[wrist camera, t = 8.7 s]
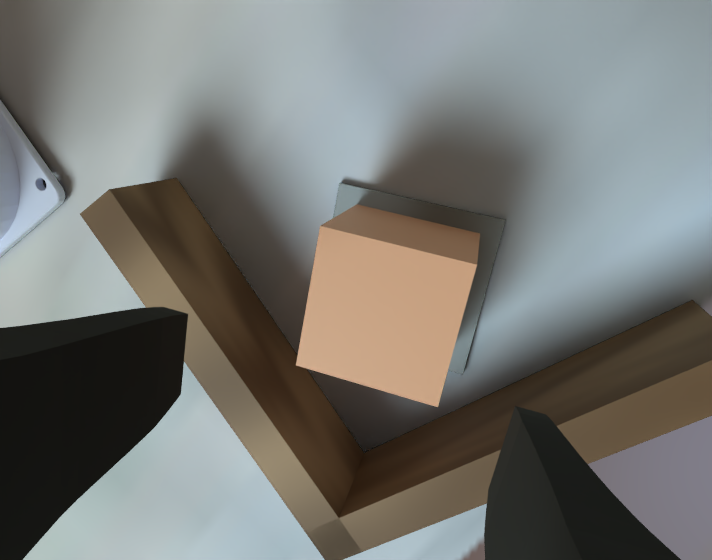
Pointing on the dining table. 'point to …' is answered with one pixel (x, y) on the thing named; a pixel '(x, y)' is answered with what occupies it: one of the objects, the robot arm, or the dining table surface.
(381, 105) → the dining table surface
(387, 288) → the cube
